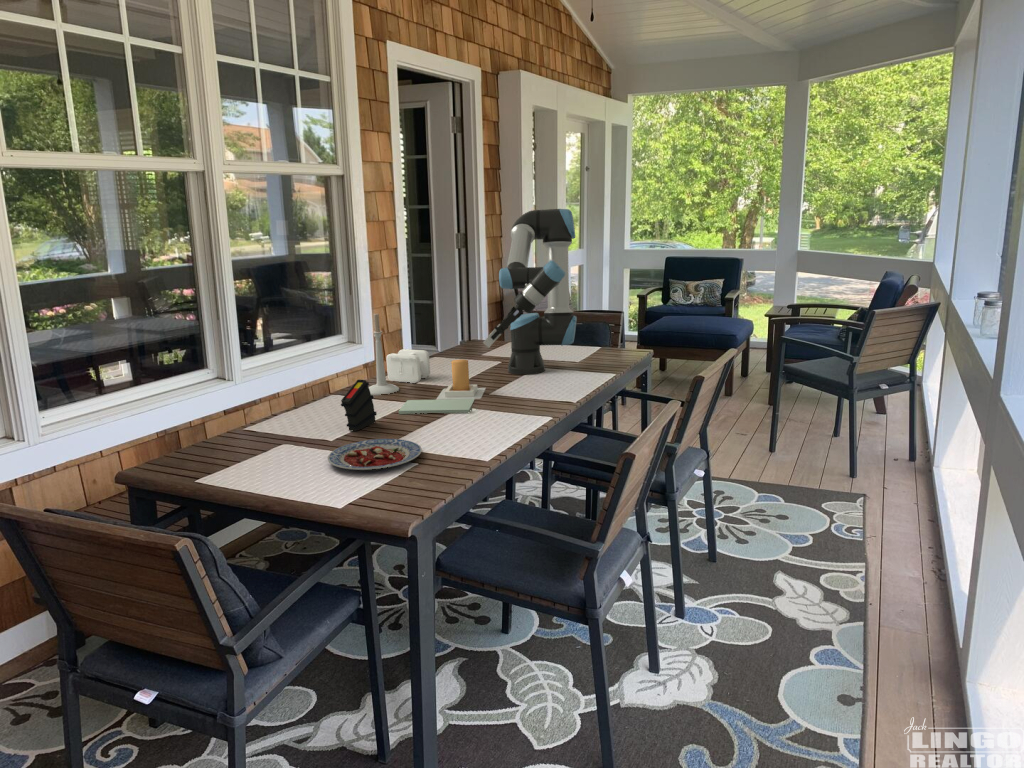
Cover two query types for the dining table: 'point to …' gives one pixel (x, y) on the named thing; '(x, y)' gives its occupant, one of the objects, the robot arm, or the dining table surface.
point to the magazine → (359, 406)
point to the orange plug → (460, 375)
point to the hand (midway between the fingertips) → (488, 342)
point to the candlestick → (380, 365)
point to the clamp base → (461, 393)
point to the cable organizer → (408, 365)
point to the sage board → (437, 406)
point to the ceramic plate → (374, 454)
